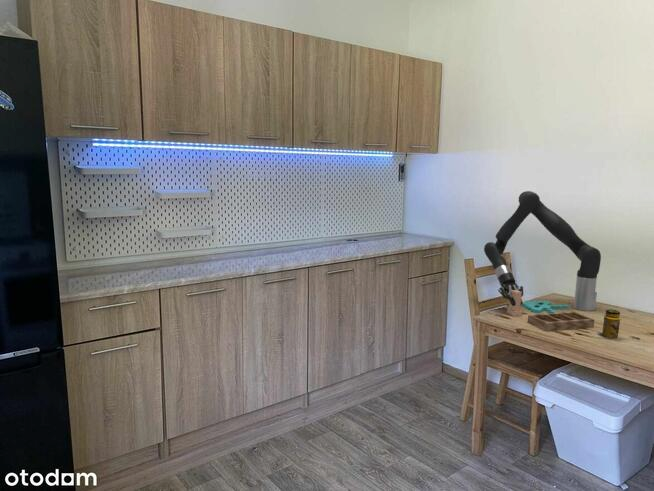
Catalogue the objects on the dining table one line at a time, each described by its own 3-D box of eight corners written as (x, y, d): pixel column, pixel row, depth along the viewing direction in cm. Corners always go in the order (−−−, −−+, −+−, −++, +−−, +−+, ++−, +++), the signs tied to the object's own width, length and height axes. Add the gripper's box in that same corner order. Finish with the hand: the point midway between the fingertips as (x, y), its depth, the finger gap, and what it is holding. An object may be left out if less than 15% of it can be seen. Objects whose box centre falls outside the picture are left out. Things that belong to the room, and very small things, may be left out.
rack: (572, 318, 235) (573, 311, 235) (593, 327, 223) (594, 319, 222) (527, 322, 229) (528, 314, 228) (546, 331, 217) (546, 323, 216)
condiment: (619, 340, 206) (622, 314, 204) (596, 337, 210) (599, 310, 208) (618, 335, 212) (621, 309, 210) (596, 332, 216) (599, 306, 214)
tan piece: (506, 312, 244) (508, 290, 242) (514, 312, 245) (516, 289, 243) (514, 316, 238) (516, 293, 236) (522, 315, 239) (523, 292, 237)
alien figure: (568, 309, 253) (529, 302, 265) (568, 305, 253) (529, 298, 265) (558, 318, 238) (517, 310, 250) (558, 313, 237) (517, 306, 250)
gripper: (496, 272, 243) (509, 302, 234) (520, 271, 247) (533, 300, 237) (489, 280, 249) (501, 309, 240) (513, 279, 253) (526, 307, 243)
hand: (517, 304), depth 238 cm, fingers closed on tan piece, 3 cm apart
